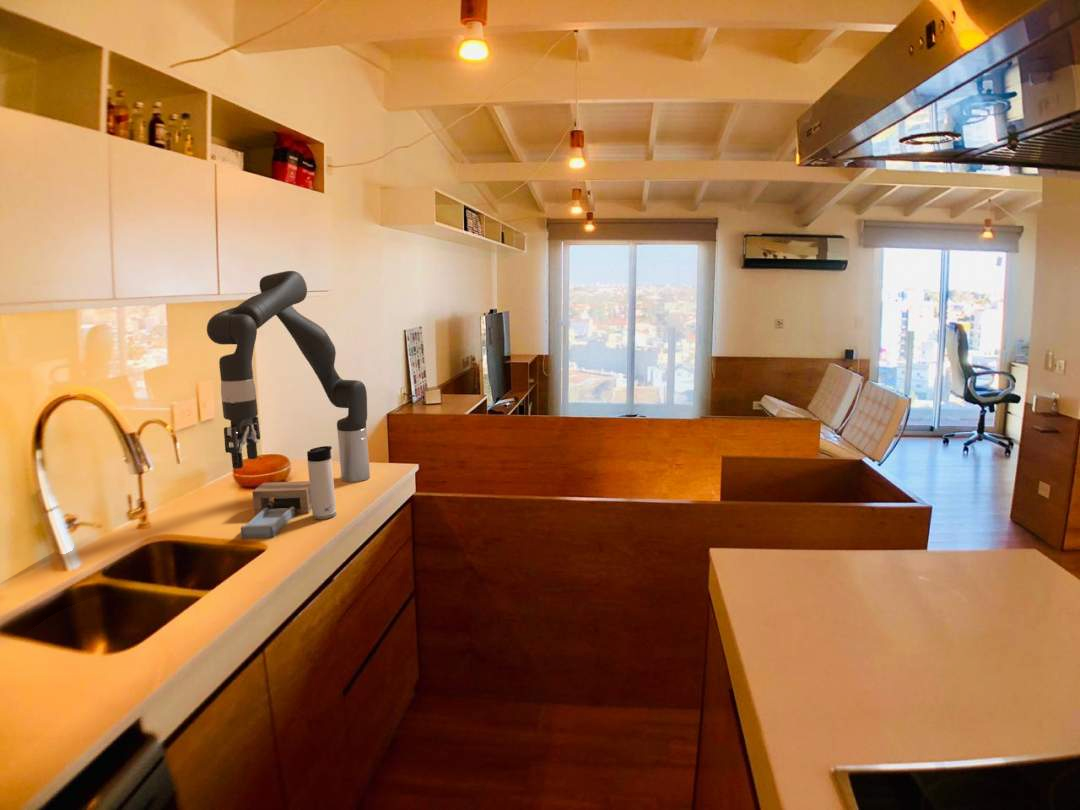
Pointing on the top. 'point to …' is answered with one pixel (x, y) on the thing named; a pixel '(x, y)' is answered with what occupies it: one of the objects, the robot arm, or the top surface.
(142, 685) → the top surface
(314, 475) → the travel mug
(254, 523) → the tray shell
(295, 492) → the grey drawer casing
